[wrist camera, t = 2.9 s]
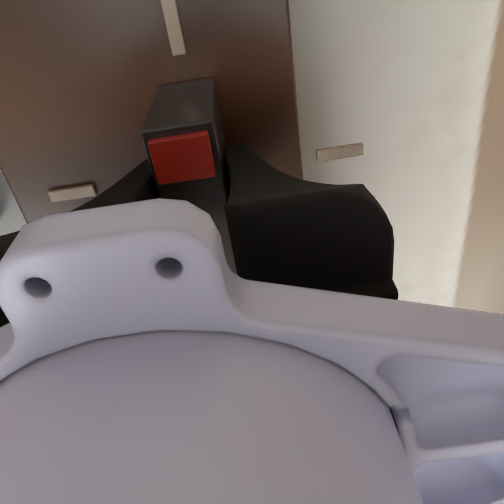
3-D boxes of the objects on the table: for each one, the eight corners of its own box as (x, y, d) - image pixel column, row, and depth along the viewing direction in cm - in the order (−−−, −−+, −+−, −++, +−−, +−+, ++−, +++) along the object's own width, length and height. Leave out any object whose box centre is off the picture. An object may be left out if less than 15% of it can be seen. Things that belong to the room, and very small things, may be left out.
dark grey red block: (243, 242, 16) (249, 317, 13) (197, 249, 16) (192, 325, 13) (214, 76, 13) (213, 123, 10) (156, 85, 13) (137, 135, 10)
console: (344, 260, 20) (362, 309, 18) (101, 296, 21) (84, 348, 18) (334, -113, 13) (363, -124, 10) (-45, -49, 13) (-108, -44, 11)
